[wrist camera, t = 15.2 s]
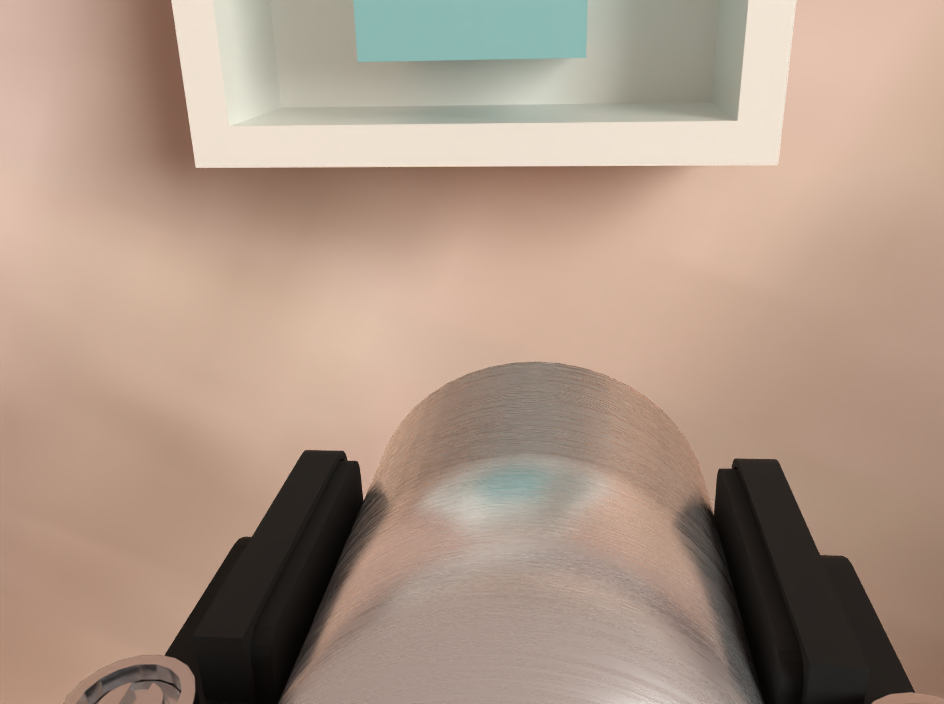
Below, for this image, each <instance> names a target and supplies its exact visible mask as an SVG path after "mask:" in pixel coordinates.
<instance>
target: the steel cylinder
mask: <svg viewBox="0 0 944 704" xmlns="http://www.w3.org/2000/svg"><path fill="white" fill-rule="evenodd" d="M278 704H765V702H764V698H763V694H762V691H761V687H760V683H759V680H758V676H757V672H756V669H755V665H754V661H753V658H752V654H751V650H750V647H749V643H748V639H747V636H746V632H745V628H744V625H743V621H742V617H741V614H740V610H739V606H738V603H737V599H736V595H735V592H734V588H733V584H732V580H731V577H730V573H729V569H728V566H727V562H726V558H725V555H724V551H723V547H722V544H721V540H720V536H719V533H718V529H717V525H716V522H715V518H714V514H713V511H712V507H711V503H710V500H709V496H708V492H707V489H706V485H705V481H704V478H703V475H702V472H701V469H700V466H699V463H698V460H697V458H696V456H695V454H694V452H693V450H692V448H691V446H690V444H689V443H688V441H687V440H686V438H685V437H684V436H683V434H682V433H681V431H680V430H679V428H678V427H677V426H676V425H675V424H674V423H673V421H672V420H671V419H670V418H669V417H668V416H667V415H666V414H665V413H664V412H663V411H662V410H661V409H660V408H659V407H657V406H656V405H655V404H654V403H652V402H651V401H650V400H649V399H648V398H646V397H645V396H644V395H642V394H640V393H639V392H637V391H636V390H634V389H632V388H631V387H629V386H627V385H626V384H624V383H622V382H619V381H617V380H615V379H613V378H611V377H608V376H606V375H604V374H601V373H598V372H594V371H591V370H588V369H585V368H581V367H576V366H571V365H565V364H560V363H547V362H522V363H510V364H504V365H499V366H493V367H488V368H485V369H482V370H479V371H476V372H472V373H469V374H467V375H465V376H462V377H460V378H458V379H456V380H454V381H451V382H449V383H447V384H446V385H444V386H443V387H441V388H440V389H438V390H436V391H435V392H433V393H432V394H430V395H429V396H428V397H427V398H425V399H424V400H423V401H422V402H421V403H419V404H418V405H417V406H416V407H415V408H414V409H413V410H412V411H411V412H410V413H409V414H408V416H407V417H406V418H405V419H404V420H403V421H402V422H401V424H400V425H399V427H398V428H397V430H396V431H395V433H394V434H393V436H392V437H391V439H390V441H389V443H388V445H387V448H386V450H385V452H384V454H383V456H382V459H381V461H380V463H379V466H378V468H377V470H376V473H375V475H374V478H373V480H372V482H371V485H370V487H369V489H368V492H367V494H366V497H365V499H364V501H363V504H362V506H361V508H360V511H359V513H358V515H357V518H356V520H355V523H354V525H353V527H352V530H351V532H350V534H349V537H348V539H347V542H346V544H345V546H344V549H343V551H342V553H341V556H340V558H339V560H338V563H337V565H336V568H335V570H334V572H333V575H332V577H331V579H330V582H329V584H328V586H327V589H326V591H325V594H324V596H323V598H322V601H321V603H320V605H319V608H318V610H317V613H316V615H315V617H314V620H313V622H312V624H311V627H310V629H309V631H308V634H307V636H306V639H305V641H304V643H303V646H302V648H301V650H300V653H299V655H298V657H297V660H296V662H295V665H294V667H293V669H292V672H291V674H290V676H289V679H288V681H287V684H286V686H285V688H284V691H283V693H282V695H281V698H280V700H279V702H278Z"/></svg>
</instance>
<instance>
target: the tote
mask: <svg viewBox="0 0 944 704" xmlns="http://www.w3.org/2000/svg"><path fill="white" fill-rule="evenodd" d="M171 2H172V8H173V15H174V22H175V29H176V36H177V43H178V49H179V56H180V63H181V70H182V77H183V84H184V91H185V97H186V104H187V111H188V118H189V125H190V132H191V139H192V145H193V152H194V159H195V166H196V168H270V167H480V166H690V165H778V161H779V152H780V143H781V134H782V125H783V116H784V108H785V99H786V90H787V81H788V72H789V63H790V54H791V45H792V36H793V27H794V18H795V9H796V0H588V2H587V43H586V58H546V59H494V60H442V61H390V62H358V60H357V46H356V32H355V18H354V4H353V0H171Z"/></svg>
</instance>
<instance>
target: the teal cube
mask: <svg viewBox="0 0 944 704" xmlns="http://www.w3.org/2000/svg"><path fill="white" fill-rule="evenodd" d="M587 2H588V0H353V4H354V18H355V32H356V46H357V60H358V62H390V61H442V60H494V59H546V58H586V43H587Z"/></svg>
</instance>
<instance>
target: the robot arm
mask: <svg viewBox="0 0 944 704" xmlns="http://www.w3.org/2000/svg"><path fill="white" fill-rule="evenodd" d="M362 504H363V494H362V484H361V474H360V467H359V464H358V462H357V461H347V457H346V454H345V453H344V451H321V450H305V451H304V452H303V453H302V455H301V457H300V458H299V460H298V461H297V463H296V465H295V466H294V468H293V470H292V471H291V473H290V475H289V476H288V478H287V480H286V481H285V483H284V485H283V486H282V488H281V490H280V491H279V493H278V495H277V496H276V498H275V500H274V501H273V503H272V505H271V506H270V508H269V510H268V511H267V513H266V514H265V516H264V518H263V519H262V521H261V523H260V524H259V526H258V528H257V529H256V531H255V533H254V534H253V536H252V537H243V538H240V539H239V540H238V541H237V542H236V543H235V544H234V546H233V547H232V549H231V550H230V552H229V554H228V555H227V557H226V558H225V560H224V562H223V563H222V565H221V566H220V568H219V570H218V571H217V573H216V574H215V576H214V578H213V579H212V581H211V582H210V584H209V585H208V587H207V589H206V590H205V592H204V593H203V595H202V597H201V598H200V600H199V601H198V603H197V605H196V606H195V608H194V609H193V611H192V613H191V614H190V616H189V617H188V619H187V621H186V622H185V624H184V625H183V627H182V628H181V630H180V632H179V633H178V635H177V636H176V638H175V640H174V641H173V643H172V644H171V646H170V648H169V649H168V651H167V652H166V654H165V656H163V655H141V656H136V657H132V658H128V659H124V660H120V661H118V662H115V663H113V664H111V665H108V666H106V667H104V668H102V669H99V670H98V671H97V672H95V673H94V674H92V675H91V676H89V677H88V678H86V679H85V680H83V681H82V682H81V683H80V684H79V685H78V686H77V687H76V688H75V689H74V690H73V691H72V692H71V693H70V694H69V695H68V696H67V698H66V699H65V701H64V703H63V704H278V702H279V700H280V698H281V695H282V693H283V691H284V688H285V686H286V684H287V681H288V679H289V676H290V674H291V672H292V669H293V667H294V665H295V662H296V660H297V657H298V655H299V653H300V650H301V648H302V646H303V643H304V641H305V639H306V636H307V634H308V631H309V629H310V627H311V624H312V622H313V620H314V617H315V615H316V613H317V610H318V608H319V605H320V603H321V601H322V598H323V596H324V594H325V591H326V589H327V586H328V584H329V582H330V579H331V577H332V575H333V572H334V570H335V568H336V565H337V563H338V560H339V558H340V556H341V553H342V551H343V549H344V546H345V544H346V542H347V539H348V537H349V534H350V532H351V530H352V527H353V525H354V523H355V520H356V518H357V515H358V513H359V511H360V508H361V506H362ZM714 518H715V522H716V525H717V529H718V533H719V536H720V540H721V544H722V547H723V551H724V555H725V558H726V562H727V566H728V569H729V573H730V577H731V580H732V584H733V588H734V592H735V595H736V599H737V603H738V606H739V610H740V614H741V617H742V621H743V625H744V628H745V632H746V636H747V639H748V643H749V647H750V650H751V654H752V658H753V661H754V665H755V669H756V672H757V676H758V680H759V683H760V687H761V691H762V694H763V698H764V702H765V704H944V698H941V697H938V696H934V695H928V694H920V693H915V691H914V689H913V687H912V685H911V683H910V681H909V679H908V677H907V675H906V673H905V671H904V669H903V667H902V665H901V663H900V661H899V659H898V657H897V655H896V653H895V651H894V649H893V647H892V645H891V643H890V641H889V639H888V637H887V635H886V633H885V631H884V629H883V627H882V625H881V622H880V620H879V618H878V616H877V614H876V612H875V610H874V608H873V606H872V604H871V602H870V600H869V598H868V596H867V594H866V592H865V590H864V588H863V586H862V584H861V582H860V580H859V578H858V576H857V574H856V572H855V570H854V568H853V566H852V564H851V563H850V561H849V560H848V558H846V557H844V556H826V555H820V554H819V552H818V550H817V547H816V545H815V543H814V541H813V538H812V536H811V534H810V532H809V529H808V527H807V525H806V523H805V520H804V518H803V516H802V514H801V511H800V509H799V507H798V505H797V502H796V500H795V498H794V496H793V493H792V491H791V489H790V487H789V484H788V482H787V480H786V478H785V475H784V473H783V471H782V469H781V466H780V464H779V462H778V461H777V460H775V459H734V461H733V464H732V469H719V470H718V474H717V484H716V496H715V509H714Z"/></svg>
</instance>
